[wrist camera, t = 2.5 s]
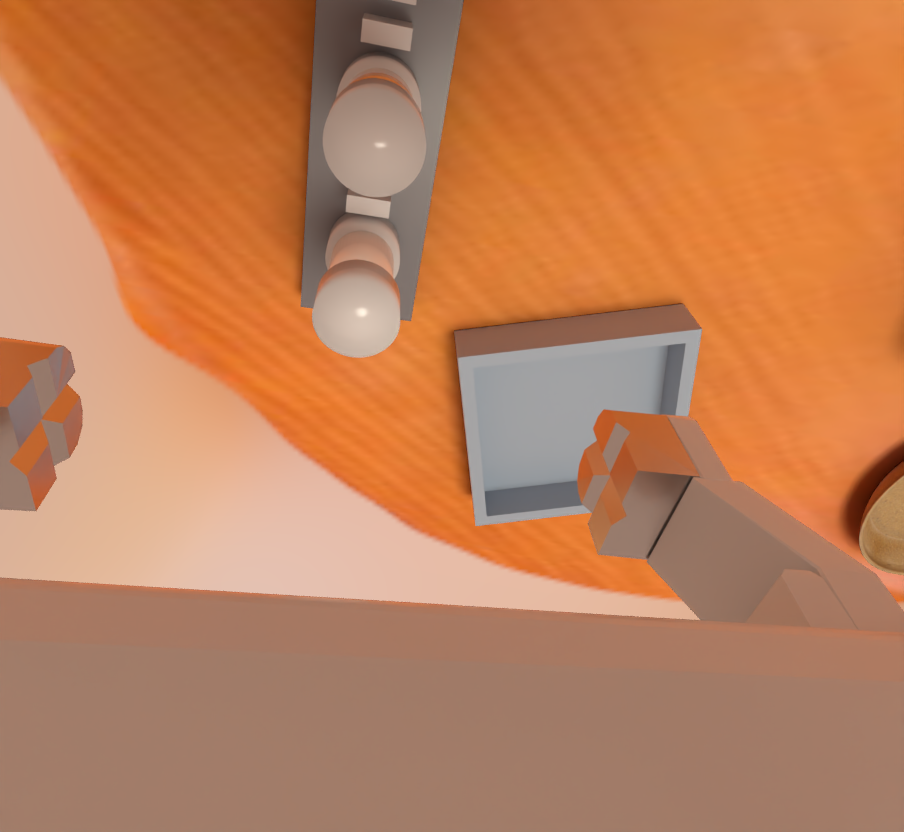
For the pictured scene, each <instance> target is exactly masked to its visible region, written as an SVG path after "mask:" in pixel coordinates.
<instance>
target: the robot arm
mask: <svg viewBox="0 0 904 832" xmlns="http://www.w3.org/2000/svg"><path fill="white" fill-rule="evenodd" d="M74 373H75V368H74V364H73V360H72V356H71V352H70V351H69V350H68V349H67V348H66V347H64V346H61V345H54V344H46V343H38V342H32V341H24V340H16V339H9V338H2V337H0V509H4V510H23V511H36V510H37V509H38V507H39V506H40V504H41V502H42V501H43V499H44V498H45V496H46V495H47V493H48V492H49V490H50V488H51V487H52V485H53V484H54V482H55V480H56V474H55V469H54V466H55V465H56V464H58V463H60V462H62V461H64V460H66V459H68V458H69V457H70V456H71V454H72V453H73V451H74V449H75V447H76V446H77V444H78V440H79V436H80V433H81V429H82V405H81V399H80V396H79V395H78V394H76V392H75V391H74V390H73V389H72V388H71V387H69V385H68V384H67V383H68V381H69V380H70V379H71V377H72V376H73V374H74ZM593 431H594V433H595V436H596V439H597V441H596V442H594V443H593V444H591V445H590V446H589V447H587V448H586V449H585V450H584V452H583V455H582V458H581V461H580V464H579V469H578V478H577V484H578V493H579V496H580V500H581V503H582V504H583V505H584V506H585V507H586V508H587V509H588V510H589V511H590V512H591V513H592V515H591V518H590V520H589V522H588V525H589V529H590V532H591V535H592V538H593V541H594V544H595V547H596V550H597V553H598V555H608V556H617V557H627V558H636V559H646V560H647V563H648V564H649V565H650V566H651V567H652V568H653V569H654V570H655V571H656V572H657V573H658V575H659V576H660V577H661V578H662V579H663V580H664V581H665V582H666V583H667V584H668V585H669V586H670V587H671V589H672V590H673V591H674V592H675V593H676V594H677V595H678V596H679V597H680V598H681V599H682V600H683V601H684V603H685V604H686V605H687V606H688V607H689V608H690V609H691V610H692V611H693V612H694V613H695V614H696V615H697V617H698V618H699V619H700V620H686V619H669V618H652V617H651V618H650V617H635V616H617V615H603V614H587V613H586V614H585V613H571V612H555V611H539V610H523V609H507V608H490V607H474V606H458V605H442V604H427V603H410V602H394V601H377V600H360V599H344V598H326V597H310V596H293V595H277V594H259V593H244V592H227V591H210V590H194V589H177V588H160V587H144V586H128V585H127V586H126V585H112V584H111V585H110V584H96V583H79V582H62V581H45V580H29V579H13V578H0V832H904V612H903V610H902V609H901V607H900V606H899V605H898V603H897V602H896V600H895V599H894V598H893V596H892V595H891V594H890V592H889V591H888V590H887V588H886V587H885V585H884V584H883V583H882V581H881V580H880V579H879V577H878V576H877V575H876V574H875V573H874V572H872V571H871V570H869V569H868V568H866V567H865V566H863V565H862V564H861V563H859V562H858V561H856V560H855V559H853V558H852V557H850V556H849V555H847V554H846V553H844V552H843V551H842V550H840V549H839V548H837V547H836V546H834V545H833V544H831V543H830V542H828V541H827V540H826V539H824V538H823V537H821V536H820V535H818V534H817V533H815V532H814V531H812V530H811V529H810V528H808V527H807V526H805V525H804V524H802V523H801V522H799V521H798V520H796V519H795V518H793V517H792V516H791V515H789V514H788V513H786V512H785V511H783V510H782V509H780V508H779V507H777V506H776V505H775V504H773V503H772V502H770V501H769V500H767V499H766V498H764V497H763V496H761V495H760V494H759V493H757V492H756V491H754V490H753V489H751V488H750V487H748V486H747V485H745V484H744V483H742V482H738V481H733V480H732V479H731V477H730V476H729V474H728V472H727V471H726V469H725V467H724V466H723V464H722V462H721V461H720V459H719V457H718V456H717V454H716V452H715V451H714V449H713V448H712V446H711V444H710V443H709V441H708V439H707V438H706V436H705V434H704V433H703V431H702V429H701V428H700V426H699V424H698V423H697V421H696V420H694V419H692V418H691V417H687V416H675V415H663V414H661V415H657V414H647V413H636V412H626V411H616V410H606V409H604V410H603V411H602V412H601V413H600V415H599V416H598V418H597V420H596V422H595V425H594V427H593Z"/></svg>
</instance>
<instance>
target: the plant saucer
mask: <svg viewBox="0 0 904 832" xmlns="http://www.w3.org/2000/svg"><path fill="white" fill-rule="evenodd" d="M859 546H860V550H861V552H862V555H863V556H864V558H865V559H866V560H867V561H868V562H869V563H870V564H871V565H872V566H874V567H876V568H877V569H880V570H882V571H885V572H888V573H893V574H898V575H904V461H903V462H902V463H900V464H899V465H898V466H896V467H895V468H894V469H893V470H892V471H891V472H890V473H889V474H888V475H887V476H886V477H885V478H884V479H883V480H882V481H881V482H880V484H879V485H878V486H877V488H876V489H875V491H874V492H873V494H872V496H871V498H870V500H869V502H868V504H867V506H866V508H865V511H864V514H863V517H862V520H861V526H860V533H859Z"/></svg>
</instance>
